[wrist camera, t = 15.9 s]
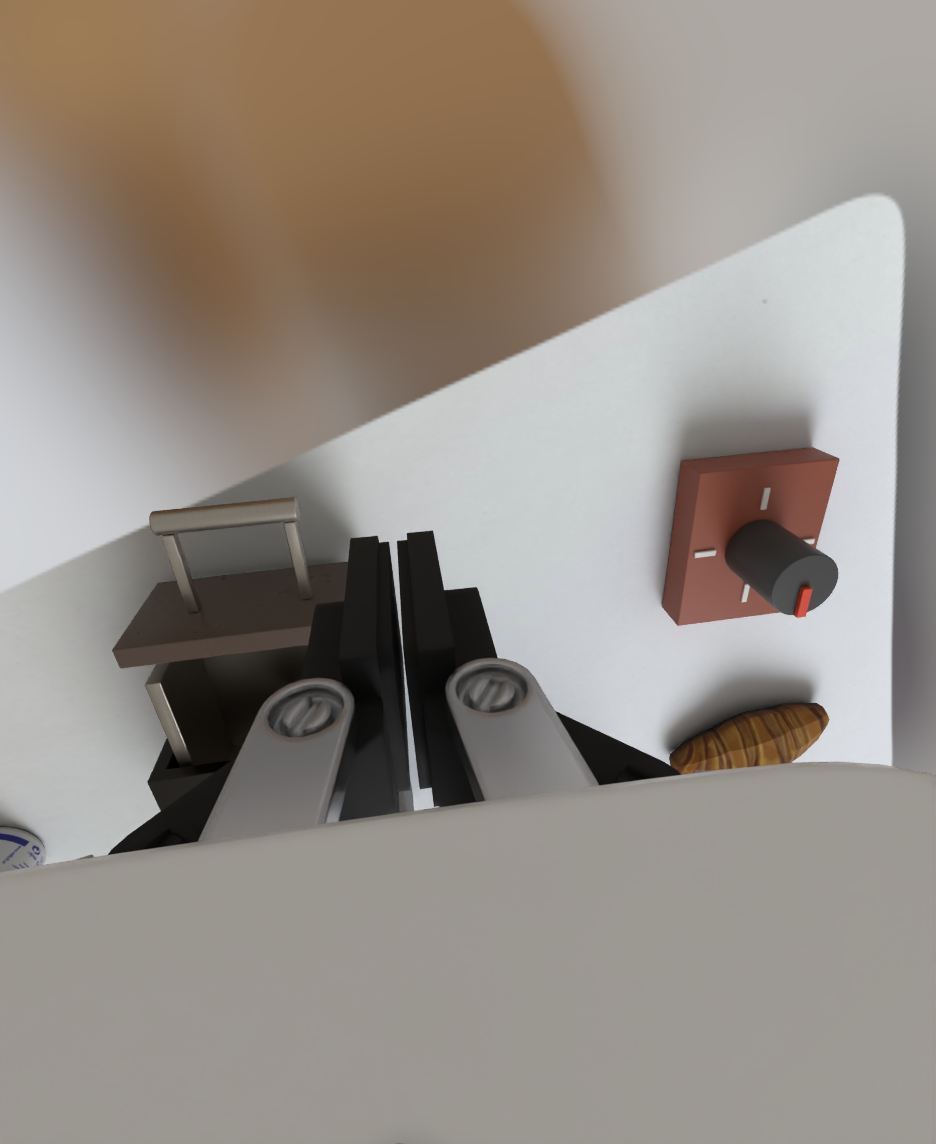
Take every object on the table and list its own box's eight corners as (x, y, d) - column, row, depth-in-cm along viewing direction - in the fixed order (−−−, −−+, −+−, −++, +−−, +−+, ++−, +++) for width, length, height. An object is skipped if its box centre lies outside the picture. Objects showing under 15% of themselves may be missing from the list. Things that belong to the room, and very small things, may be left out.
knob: (729, 523, 36) (782, 562, 31) (789, 515, 36) (850, 552, 31) (720, 578, 38) (768, 622, 33) (777, 570, 38) (833, 613, 33)
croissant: (814, 672, 47) (859, 714, 42) (816, 728, 50) (858, 772, 46) (658, 728, 47) (686, 775, 43) (670, 779, 51) (697, 828, 46)
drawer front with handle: (123, 490, 31) (64, 544, 25) (351, 468, 32) (346, 514, 26) (217, 746, 40) (190, 829, 35) (392, 721, 42) (395, 797, 36)
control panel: (680, 460, 36) (701, 473, 34) (813, 446, 37) (842, 459, 35) (661, 607, 41) (678, 627, 39) (777, 592, 42) (801, 611, 40)
